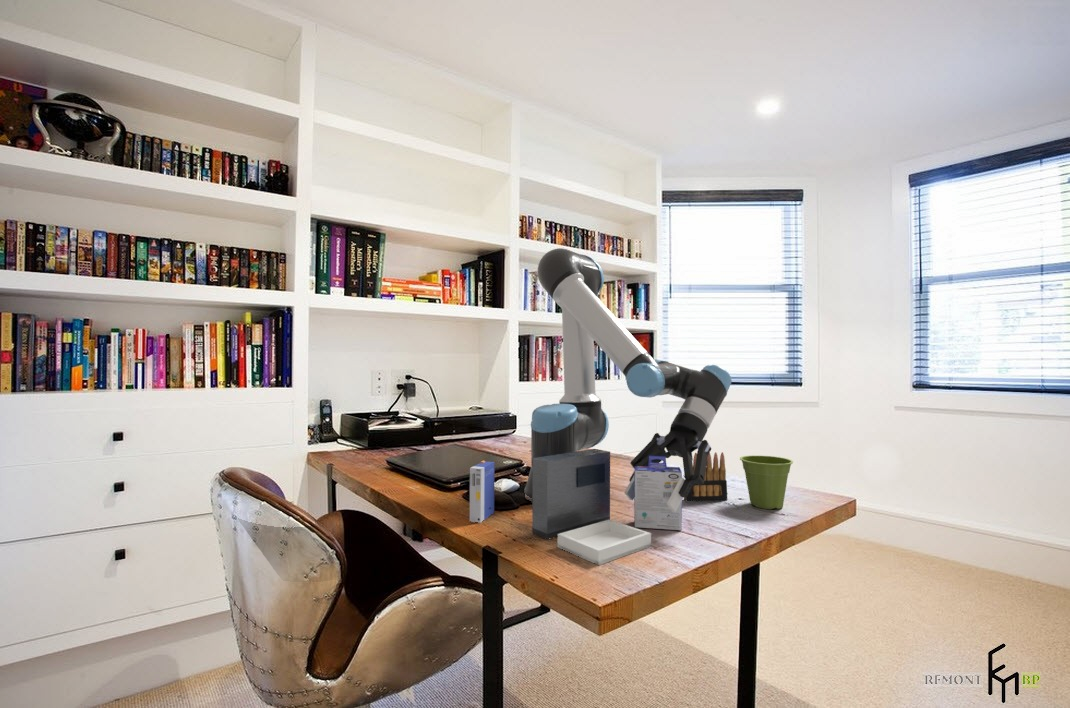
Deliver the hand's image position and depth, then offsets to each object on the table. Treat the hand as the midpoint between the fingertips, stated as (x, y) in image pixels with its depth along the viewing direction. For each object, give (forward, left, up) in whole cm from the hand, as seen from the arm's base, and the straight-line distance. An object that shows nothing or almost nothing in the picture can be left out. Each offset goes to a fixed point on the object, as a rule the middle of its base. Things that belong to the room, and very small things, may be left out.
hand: (648, 502), depth 107 cm
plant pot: (+7, +36, -6) cm, 37 cm away
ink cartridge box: (0, +3, -6) cm, 6 cm away
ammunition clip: (-5, +29, -6) cm, 30 cm away
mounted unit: (-10, -12, -5) cm, 17 cm away
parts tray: (+2, -15, -5) cm, 16 cm away
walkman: (-28, -23, -6) cm, 37 cm away
